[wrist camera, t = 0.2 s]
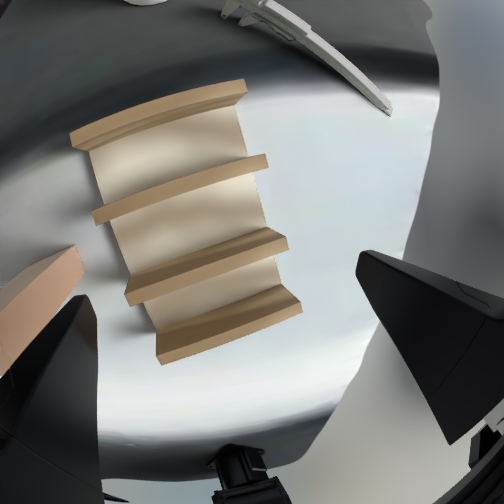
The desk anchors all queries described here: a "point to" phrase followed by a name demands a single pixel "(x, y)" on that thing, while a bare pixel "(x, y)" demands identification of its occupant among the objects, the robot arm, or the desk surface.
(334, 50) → the caliper
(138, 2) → the spray bottle
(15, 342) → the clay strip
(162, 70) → the desk surface
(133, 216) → the rack
